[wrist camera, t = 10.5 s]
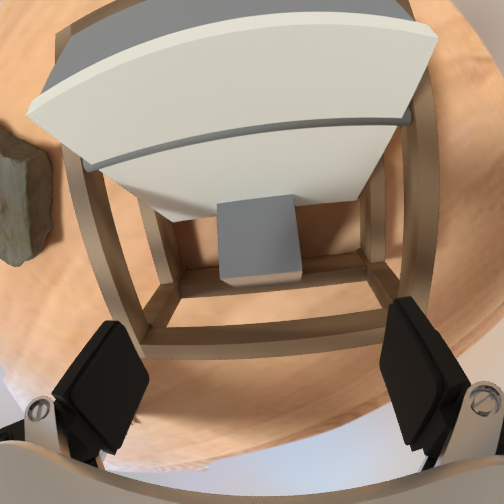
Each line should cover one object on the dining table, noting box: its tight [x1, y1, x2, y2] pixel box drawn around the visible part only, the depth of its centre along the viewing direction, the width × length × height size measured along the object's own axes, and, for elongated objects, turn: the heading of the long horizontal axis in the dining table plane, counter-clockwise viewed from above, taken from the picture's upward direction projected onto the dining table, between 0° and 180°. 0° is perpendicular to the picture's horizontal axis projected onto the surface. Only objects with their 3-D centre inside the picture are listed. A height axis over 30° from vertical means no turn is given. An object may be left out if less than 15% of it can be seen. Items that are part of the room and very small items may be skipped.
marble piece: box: [0, 126, 53, 267], centre depth 22 cm, size 17×15×4 cm
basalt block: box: [217, 194, 302, 288], centre depth 20 cm, size 5×5×5 cm
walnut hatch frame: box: [55, 0, 439, 360], centre depth 16 cm, size 21×18×10 cm
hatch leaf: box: [26, 0, 439, 222], centre depth 13 cm, size 15×15×5 cm
